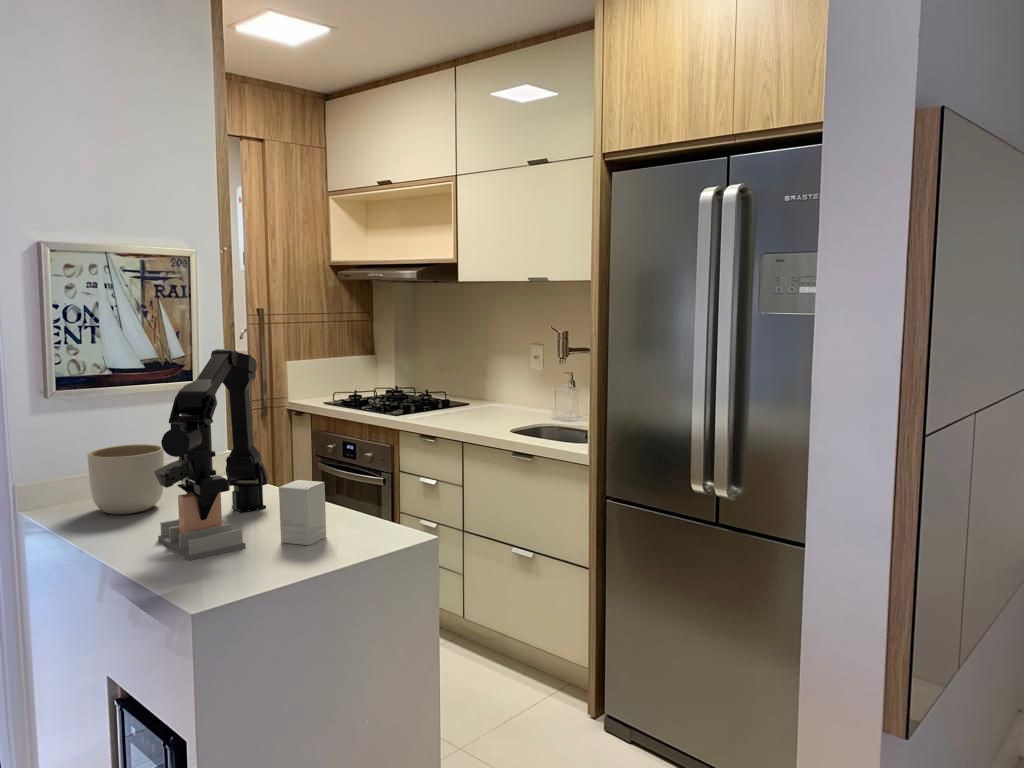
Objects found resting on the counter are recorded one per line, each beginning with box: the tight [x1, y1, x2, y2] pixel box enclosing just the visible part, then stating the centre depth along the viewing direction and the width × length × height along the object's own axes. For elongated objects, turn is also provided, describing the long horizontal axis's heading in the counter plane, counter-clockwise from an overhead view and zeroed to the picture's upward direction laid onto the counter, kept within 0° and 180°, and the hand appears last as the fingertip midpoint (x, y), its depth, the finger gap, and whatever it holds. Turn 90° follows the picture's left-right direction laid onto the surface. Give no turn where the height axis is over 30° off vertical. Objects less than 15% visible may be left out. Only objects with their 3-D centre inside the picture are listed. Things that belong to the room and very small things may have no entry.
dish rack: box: [157, 518, 246, 561], centre depth 165 cm, size 12×18×4 cm, turn 43°
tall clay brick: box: [177, 492, 223, 533], centre depth 164 cm, size 8×3×8 cm, turn 133°
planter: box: [87, 443, 165, 515], centre depth 191 cm, size 17×17×15 cm
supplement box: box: [278, 479, 327, 546], centre depth 168 cm, size 7×7×13 cm
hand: (200, 518), depth 165 cm, fingers closed on tall clay brick, 3 cm apart
